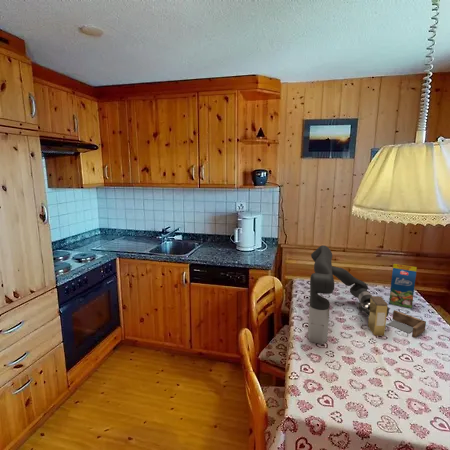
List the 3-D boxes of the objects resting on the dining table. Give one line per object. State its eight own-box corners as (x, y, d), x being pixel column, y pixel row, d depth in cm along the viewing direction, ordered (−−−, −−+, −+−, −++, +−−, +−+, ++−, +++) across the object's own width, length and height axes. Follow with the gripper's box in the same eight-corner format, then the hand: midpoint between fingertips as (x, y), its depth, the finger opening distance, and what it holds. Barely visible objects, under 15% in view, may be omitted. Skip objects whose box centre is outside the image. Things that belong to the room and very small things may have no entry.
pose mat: (387, 324, 161) (387, 324, 161) (393, 320, 165) (393, 320, 165) (409, 333, 152) (409, 333, 152) (415, 329, 156) (415, 328, 156)
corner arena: (383, 324, 161) (384, 316, 160) (393, 318, 167) (394, 310, 166) (415, 337, 148) (416, 328, 147) (424, 330, 155) (426, 321, 154)
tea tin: (367, 326, 160) (370, 296, 156) (377, 326, 159) (380, 296, 156) (373, 335, 151) (377, 303, 147) (384, 336, 150) (387, 304, 147)
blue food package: (411, 309, 179) (416, 268, 174) (388, 304, 185) (393, 265, 180) (412, 304, 184) (417, 265, 179) (390, 300, 190) (394, 262, 185)
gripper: (354, 293, 168) (363, 306, 153) (381, 294, 167) (393, 308, 151) (353, 306, 170) (362, 320, 154) (380, 307, 168) (392, 322, 152)
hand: (377, 314), depth 152 cm, fingers open, 8 cm apart
